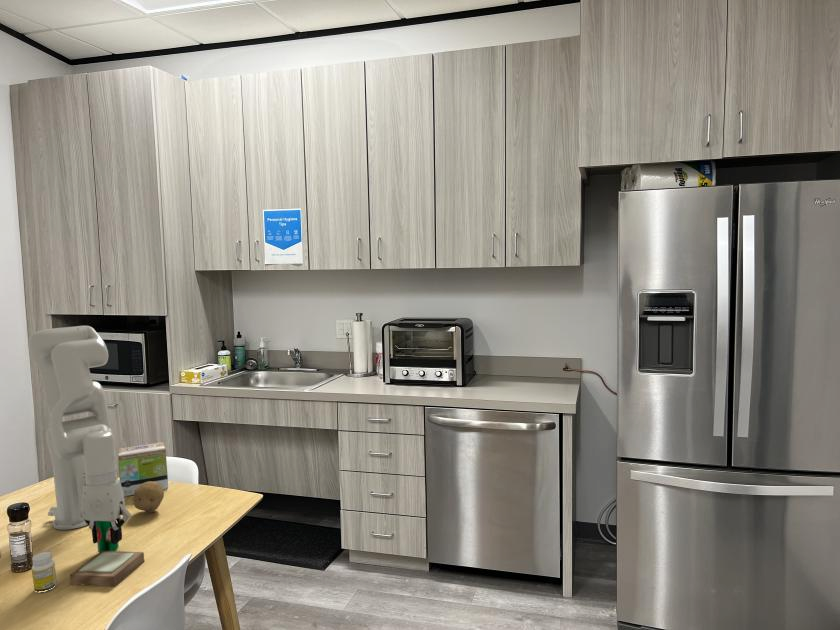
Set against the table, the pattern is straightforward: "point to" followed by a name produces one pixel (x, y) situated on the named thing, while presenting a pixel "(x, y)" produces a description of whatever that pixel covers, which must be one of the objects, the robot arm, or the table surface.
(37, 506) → the table surface
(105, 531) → the soda can
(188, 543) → the table surface
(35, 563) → the supplement bottle
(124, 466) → the tea box
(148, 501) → the natural sponge
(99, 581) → the walnut picture frame
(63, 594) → the table surface
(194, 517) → the table surface
